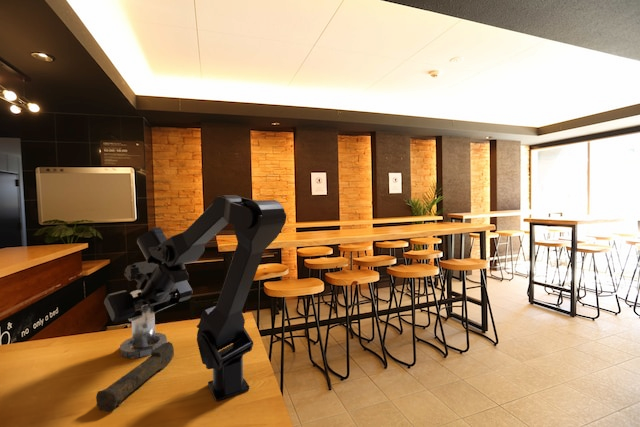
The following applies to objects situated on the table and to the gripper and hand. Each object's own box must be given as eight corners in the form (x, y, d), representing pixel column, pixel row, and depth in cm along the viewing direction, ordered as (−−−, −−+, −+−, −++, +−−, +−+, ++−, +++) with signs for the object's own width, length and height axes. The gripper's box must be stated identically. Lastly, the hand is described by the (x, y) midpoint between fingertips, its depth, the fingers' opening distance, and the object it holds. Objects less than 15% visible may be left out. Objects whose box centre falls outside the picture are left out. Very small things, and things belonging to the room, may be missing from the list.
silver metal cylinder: (153, 345, 75) (151, 293, 75) (130, 349, 74) (127, 295, 73) (157, 337, 80) (155, 287, 79) (135, 340, 79) (133, 289, 78)
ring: (169, 350, 76) (168, 344, 76) (120, 362, 70) (120, 356, 70) (163, 334, 84) (163, 329, 84) (120, 344, 79) (119, 339, 78)
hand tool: (113, 415, 54) (112, 389, 53) (95, 411, 55) (94, 386, 54) (183, 359, 72) (183, 339, 72) (168, 357, 73) (168, 338, 73)
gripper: (184, 246, 82) (162, 281, 88) (105, 258, 66) (85, 300, 72) (204, 279, 78) (179, 313, 84) (126, 301, 62) (103, 341, 68)
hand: (140, 315), depth 77 cm, fingers closed on silver metal cylinder, 5 cm apart
